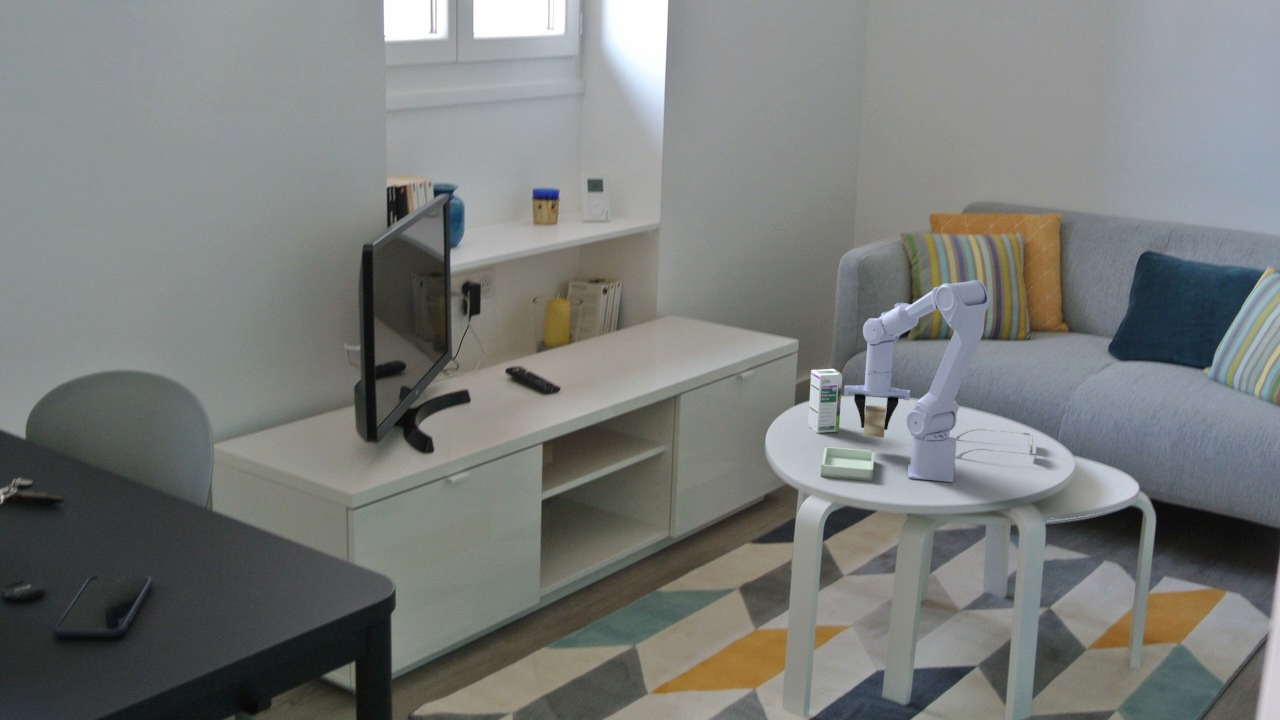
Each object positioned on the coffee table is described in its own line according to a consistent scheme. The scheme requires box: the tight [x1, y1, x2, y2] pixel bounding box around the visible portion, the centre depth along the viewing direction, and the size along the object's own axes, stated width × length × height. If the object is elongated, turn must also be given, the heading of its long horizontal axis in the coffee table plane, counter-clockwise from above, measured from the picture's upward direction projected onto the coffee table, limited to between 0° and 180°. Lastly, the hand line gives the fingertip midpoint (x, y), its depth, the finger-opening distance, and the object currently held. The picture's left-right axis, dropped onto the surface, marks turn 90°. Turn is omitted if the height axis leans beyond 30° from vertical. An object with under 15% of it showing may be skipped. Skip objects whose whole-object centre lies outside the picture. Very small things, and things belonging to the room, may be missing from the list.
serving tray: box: [820, 446, 875, 482], centre depth 277 cm, size 11×13×2 cm
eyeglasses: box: [953, 428, 1037, 464], centre depth 291 cm, size 15×18×4 cm
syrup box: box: [807, 368, 843, 434], centre depth 303 cm, size 6×6×14 cm
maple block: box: [863, 404, 887, 438], centre depth 287 cm, size 4×4×6 cm
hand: (874, 427), depth 287 cm, fingers closed on maple block, 4 cm apart
